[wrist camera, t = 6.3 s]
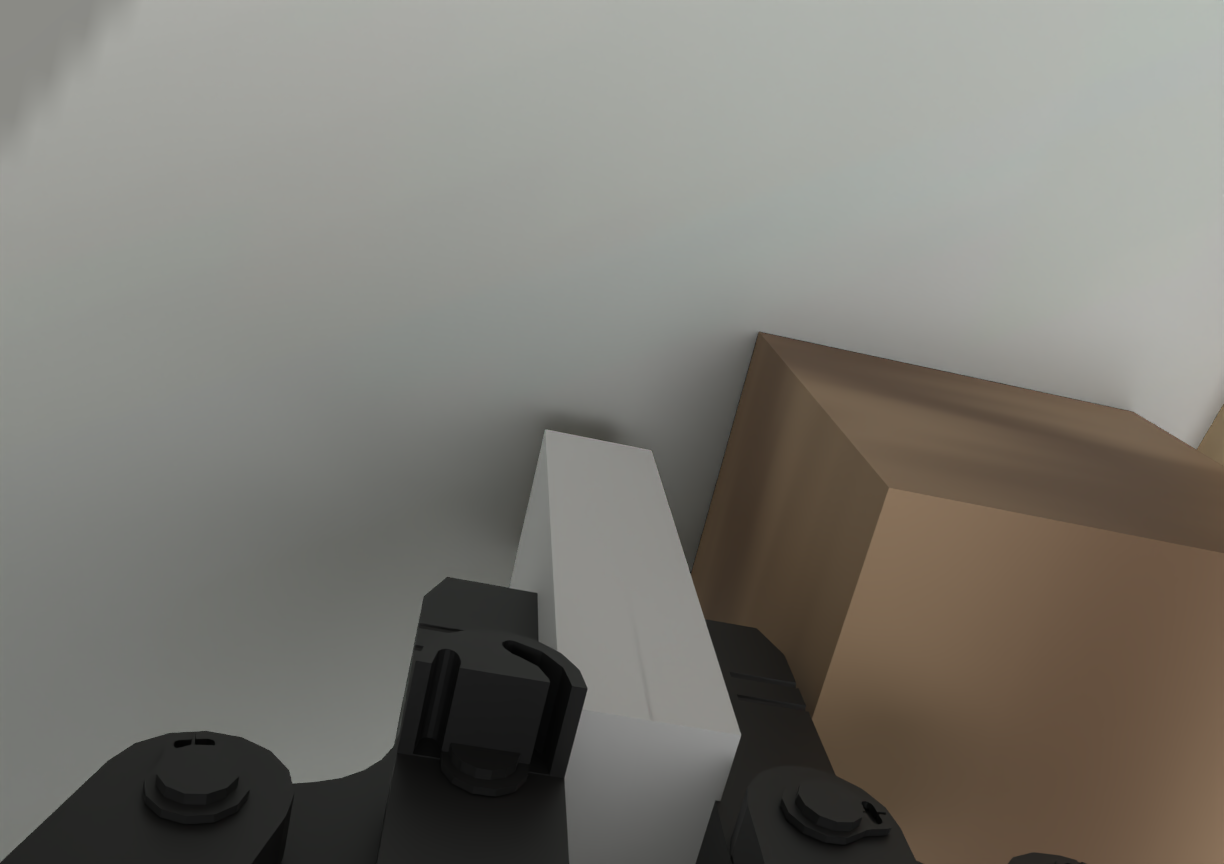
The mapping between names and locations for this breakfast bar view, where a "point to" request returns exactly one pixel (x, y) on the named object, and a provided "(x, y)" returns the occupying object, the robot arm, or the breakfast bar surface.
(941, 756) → the walnut block
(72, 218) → the breakfast bar surface
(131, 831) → the robot arm
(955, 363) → the breakfast bar surface
